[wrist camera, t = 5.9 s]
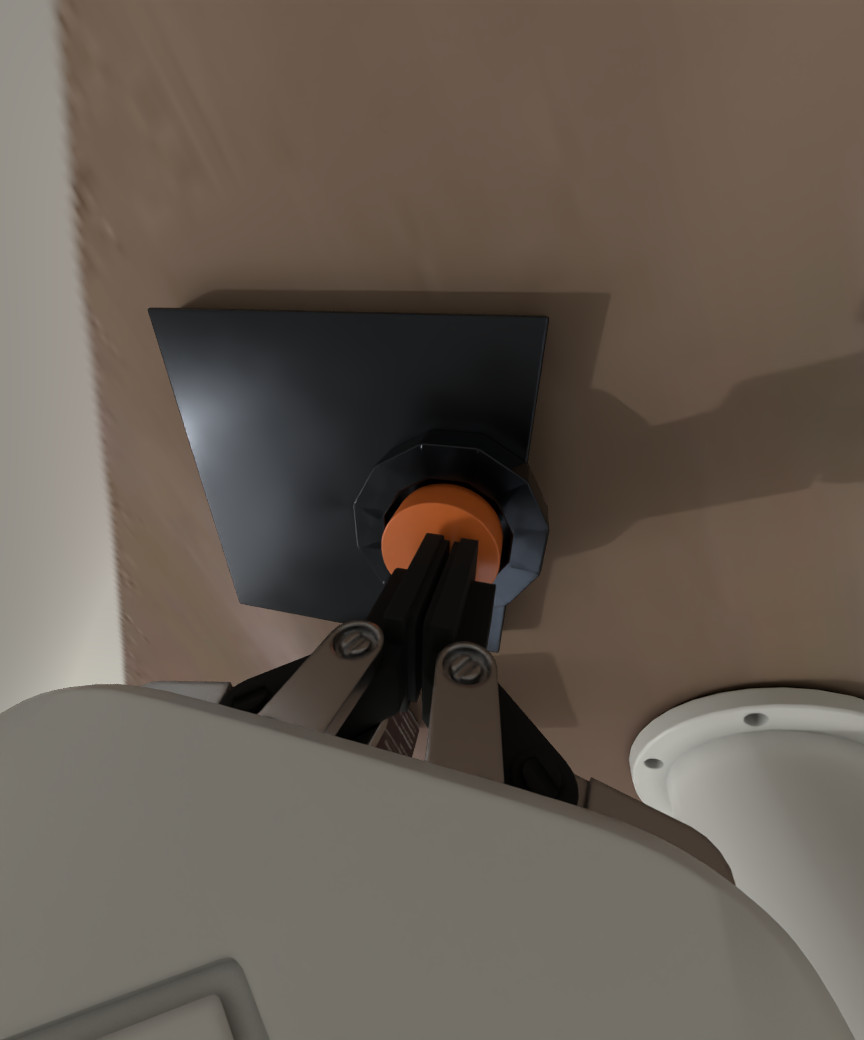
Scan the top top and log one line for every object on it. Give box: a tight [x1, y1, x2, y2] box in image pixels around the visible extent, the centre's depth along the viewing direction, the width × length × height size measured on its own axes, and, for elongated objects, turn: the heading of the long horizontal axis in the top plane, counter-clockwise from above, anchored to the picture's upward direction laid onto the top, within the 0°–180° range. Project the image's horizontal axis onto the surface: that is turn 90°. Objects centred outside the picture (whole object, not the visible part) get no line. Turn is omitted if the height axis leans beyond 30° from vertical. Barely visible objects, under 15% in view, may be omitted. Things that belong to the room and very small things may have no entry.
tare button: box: [382, 483, 503, 584], centre depth 13 cm, size 4×4×2 cm
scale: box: [148, 308, 549, 653], centre depth 15 cm, size 15×14×3 cm
